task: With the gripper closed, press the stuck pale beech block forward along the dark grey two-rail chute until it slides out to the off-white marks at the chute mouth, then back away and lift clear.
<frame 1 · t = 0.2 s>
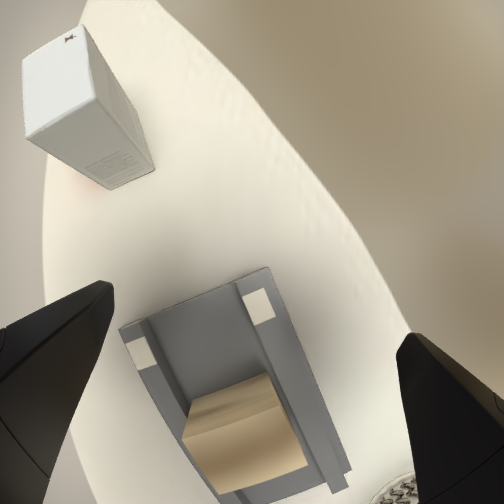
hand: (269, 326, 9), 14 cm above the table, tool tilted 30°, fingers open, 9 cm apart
chute: (245, 412, 22), on the table
skincare box: (123, 151, 23), on the table
block: (244, 432, 18), point 4 cm above the table, slide at 0.0 cm
decorative candle: (400, 497, 23), on the table
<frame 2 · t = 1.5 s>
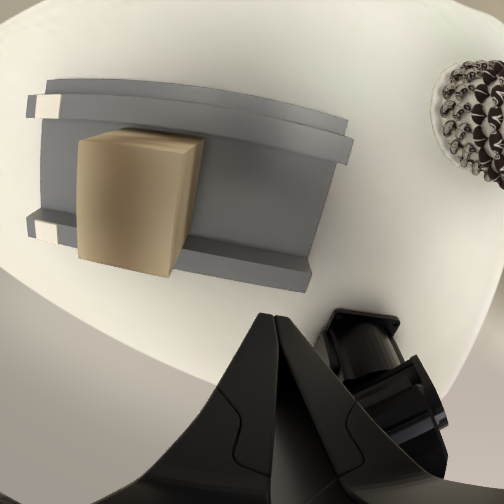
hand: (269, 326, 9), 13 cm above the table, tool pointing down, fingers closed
chute: (170, 175, 20), on the table
block: (143, 192, 16), point 4 cm above the table, slide at 0.0 cm
decorative candle: (472, 117, 17), on the table
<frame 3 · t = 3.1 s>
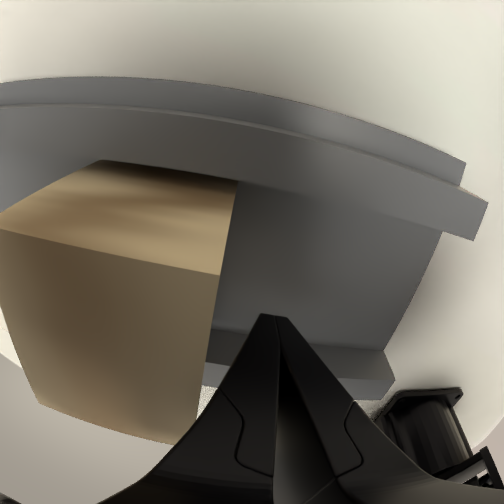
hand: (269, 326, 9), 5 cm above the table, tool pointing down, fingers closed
chute: (185, 239, 12), on the table
block: (131, 292, 9), point 4 cm above the table, slide at 0.4 cm, touching gripper
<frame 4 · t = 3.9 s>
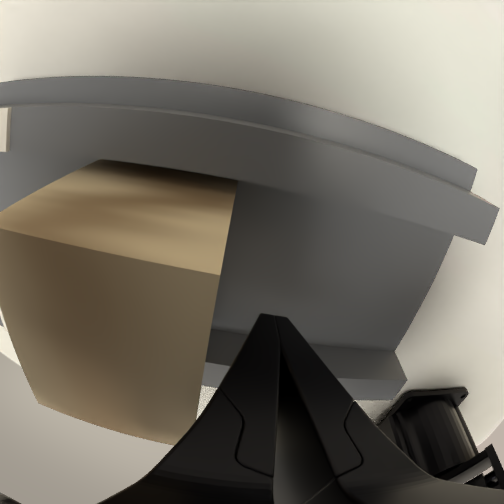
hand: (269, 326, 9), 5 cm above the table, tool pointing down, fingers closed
chute: (203, 242, 12), on the table
block: (130, 292, 9), point 4 cm above the table, slide at 1.1 cm, touching gripper
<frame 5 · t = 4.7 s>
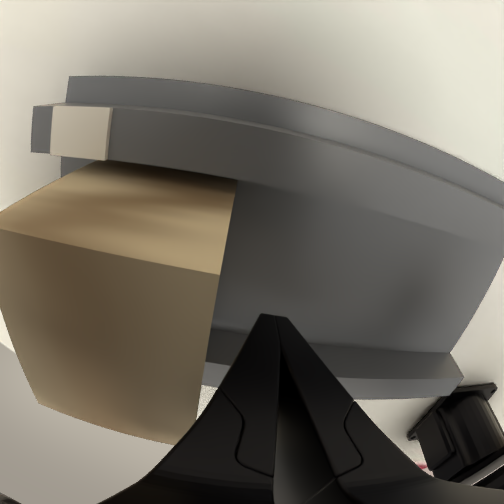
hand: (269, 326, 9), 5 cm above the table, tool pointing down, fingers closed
chute: (302, 260, 13), on the table
block: (130, 291, 9), point 4 cm above the table, slide at 5.2 cm, touching gripper
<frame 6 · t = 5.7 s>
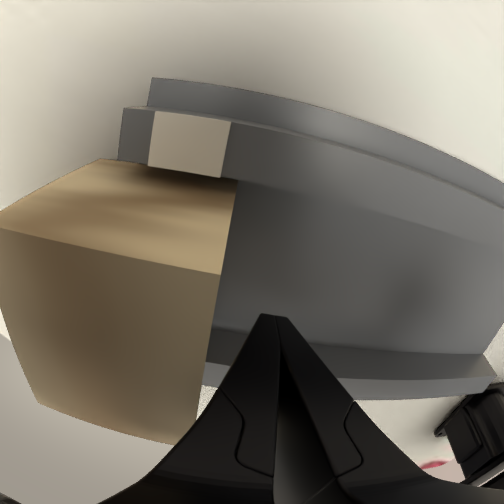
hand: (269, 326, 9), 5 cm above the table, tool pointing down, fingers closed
chute: (372, 274, 13), on the table
block: (130, 291, 9), point 4 cm above the table, slide at 8.5 cm, touching gripper
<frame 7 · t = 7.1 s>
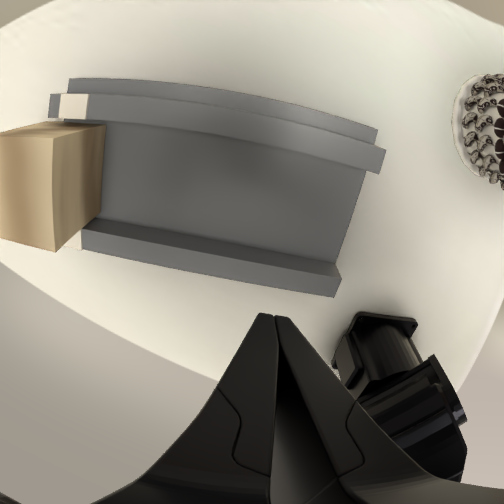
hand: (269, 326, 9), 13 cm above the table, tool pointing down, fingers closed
chute: (200, 180, 20), on the table
block: (47, 177, 15), point 4 cm above the table, slide at 8.5 cm
decorative candle: (489, 127, 17), on the table
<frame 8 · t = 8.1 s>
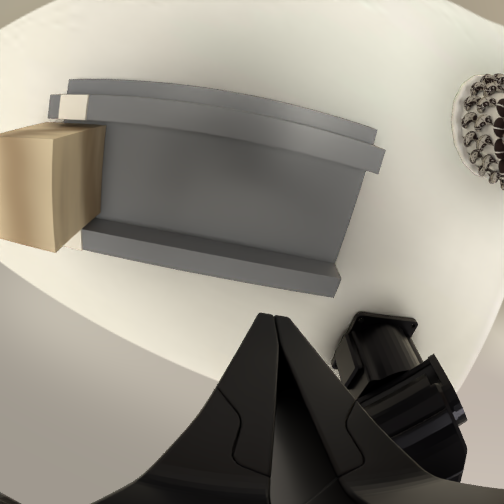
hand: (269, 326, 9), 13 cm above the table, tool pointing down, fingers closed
chute: (200, 180, 20), on the table
block: (47, 178, 15), point 4 cm above the table, slide at 8.5 cm
decorative candle: (489, 126, 17), on the table
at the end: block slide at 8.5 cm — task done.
